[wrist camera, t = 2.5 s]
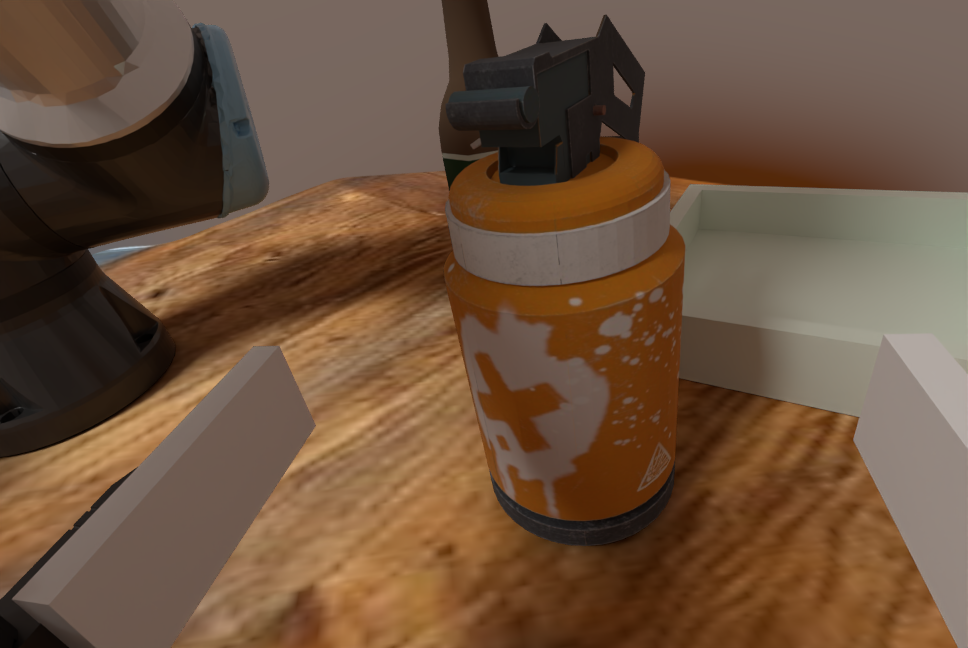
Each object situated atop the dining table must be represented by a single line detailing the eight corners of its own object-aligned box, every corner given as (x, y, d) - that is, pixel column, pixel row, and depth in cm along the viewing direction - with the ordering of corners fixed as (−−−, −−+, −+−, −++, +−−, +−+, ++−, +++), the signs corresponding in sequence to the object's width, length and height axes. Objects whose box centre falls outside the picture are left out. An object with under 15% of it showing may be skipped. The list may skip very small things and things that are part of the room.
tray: (607, 362, 34) (604, 303, 31) (687, 232, 47) (690, 184, 45) (1037, 455, 23) (1083, 378, 21) (984, 255, 37) (1008, 193, 34)
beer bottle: (563, 263, 46) (533, -73, 33) (483, 291, 44) (418, -54, 31) (523, 235, 52) (485, -56, 39) (451, 259, 50) (387, -39, 37)
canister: (460, 510, 26) (331, 75, 15) (556, 376, 33) (515, 19, 23) (638, 589, 21) (634, 41, 11) (704, 414, 29) (742, -15, 18)
